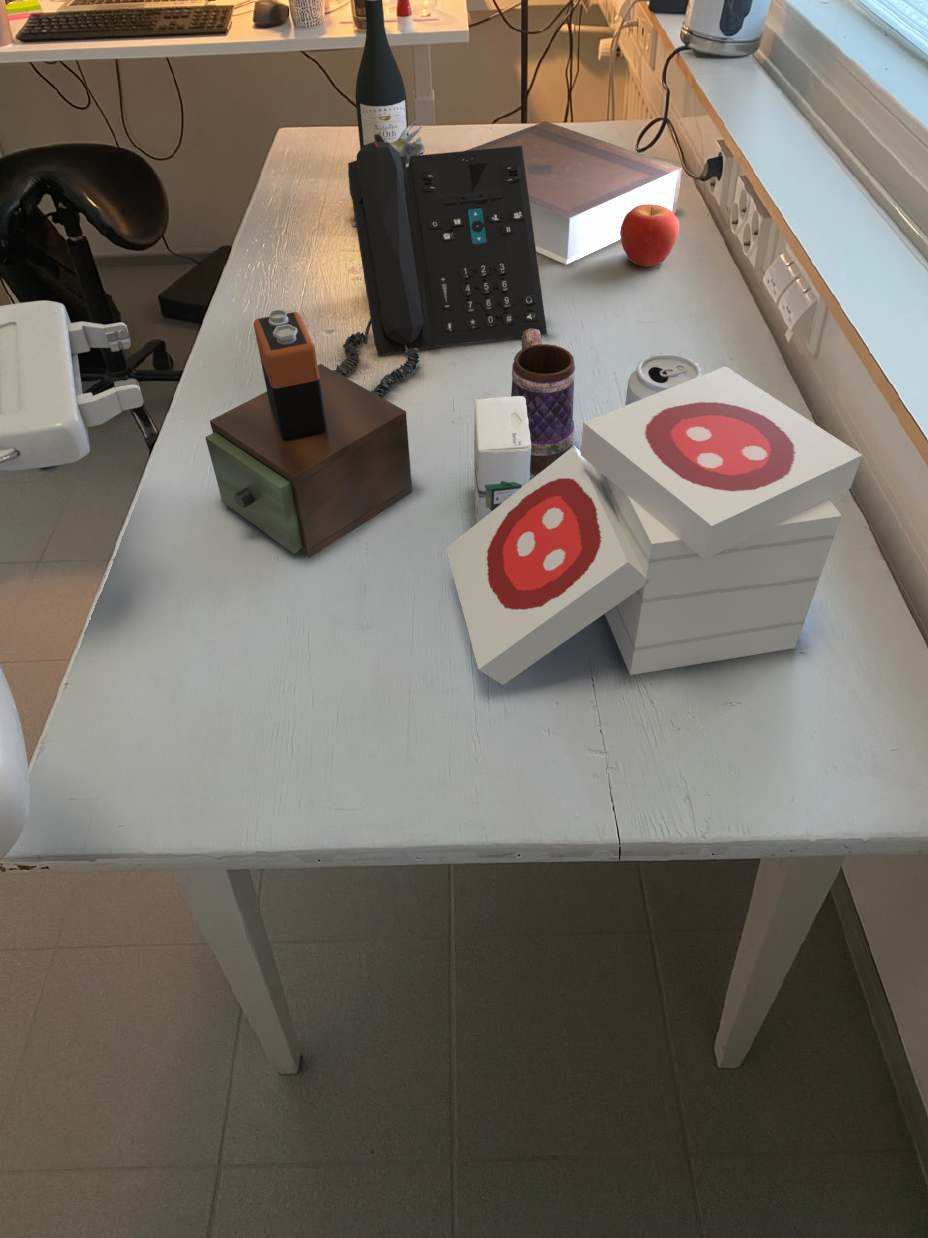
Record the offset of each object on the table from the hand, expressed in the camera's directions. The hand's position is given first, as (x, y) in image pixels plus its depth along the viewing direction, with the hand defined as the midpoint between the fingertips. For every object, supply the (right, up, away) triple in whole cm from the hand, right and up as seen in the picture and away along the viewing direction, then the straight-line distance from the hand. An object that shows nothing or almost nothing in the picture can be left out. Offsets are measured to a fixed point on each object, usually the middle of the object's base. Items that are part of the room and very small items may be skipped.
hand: (134, 361), depth 77 cm
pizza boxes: (+42, -21, +7) cm, 47 cm away
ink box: (+31, -11, +16) cm, 37 cm away
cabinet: (+12, -9, +19) cm, 25 cm away
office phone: (+23, +14, +41) cm, 49 cm away
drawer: (+11, -9, +17) cm, 22 cm away
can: (+47, -6, +22) cm, 52 cm away
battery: (+11, -2, +12) cm, 17 cm away
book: (+41, +42, +67) cm, 89 cm away
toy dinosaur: (+13, +40, +66) cm, 78 cm away
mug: (+35, -3, +25) cm, 43 cm away
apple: (+53, +29, +54) cm, 81 cm away
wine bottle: (+14, +53, +79) cm, 96 cm away
